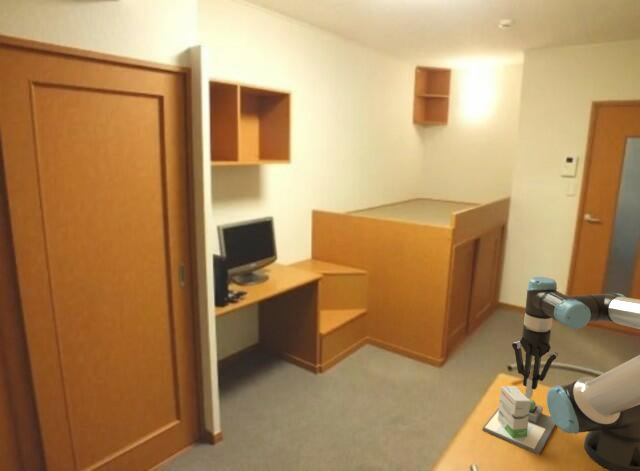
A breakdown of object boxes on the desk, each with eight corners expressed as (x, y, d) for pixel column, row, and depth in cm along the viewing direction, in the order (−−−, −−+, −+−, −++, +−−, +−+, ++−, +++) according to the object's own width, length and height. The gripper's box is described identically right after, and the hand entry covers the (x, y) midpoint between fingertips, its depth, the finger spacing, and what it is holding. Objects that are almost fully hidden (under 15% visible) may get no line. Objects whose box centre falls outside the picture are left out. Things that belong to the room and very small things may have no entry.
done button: (536, 408, 136) (537, 401, 135) (532, 414, 133) (533, 407, 133) (523, 403, 139) (523, 396, 138) (519, 409, 136) (519, 402, 135)
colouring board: (557, 421, 134) (558, 412, 133) (539, 455, 119) (540, 444, 119) (505, 401, 144) (506, 393, 144) (482, 430, 130) (483, 420, 129)
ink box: (527, 437, 125) (532, 400, 123) (511, 438, 125) (515, 402, 122) (511, 418, 134) (515, 384, 131) (496, 419, 133) (499, 385, 131)
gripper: (564, 329, 129) (554, 399, 134) (518, 317, 137) (511, 383, 142) (557, 337, 123) (547, 410, 128) (510, 324, 132) (503, 393, 137)
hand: (528, 396), depth 135 cm, fingers closed
